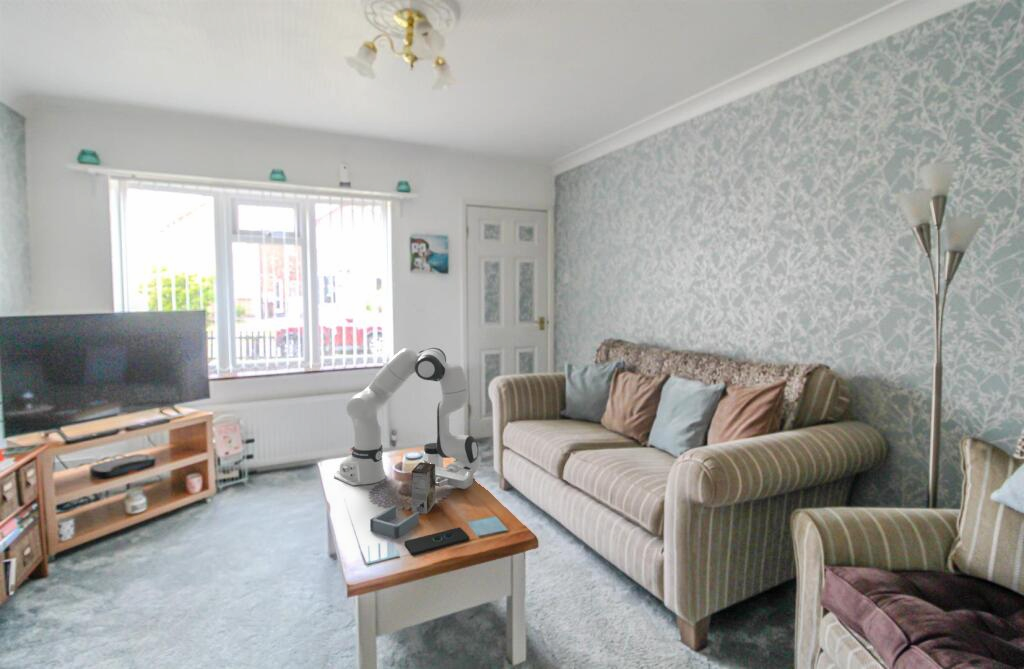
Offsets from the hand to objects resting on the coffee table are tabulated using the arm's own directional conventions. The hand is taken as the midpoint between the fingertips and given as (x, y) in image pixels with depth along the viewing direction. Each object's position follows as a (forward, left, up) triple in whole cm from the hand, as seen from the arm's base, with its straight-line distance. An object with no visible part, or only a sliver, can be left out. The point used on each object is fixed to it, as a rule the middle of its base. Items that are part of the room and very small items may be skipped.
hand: (436, 484), depth 192 cm
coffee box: (0, -8, -6) cm, 11 cm away
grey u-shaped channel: (0, -24, -6) cm, 25 cm away
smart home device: (+19, -27, -7) cm, 34 cm away
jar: (-18, +24, -6) cm, 30 cm away
